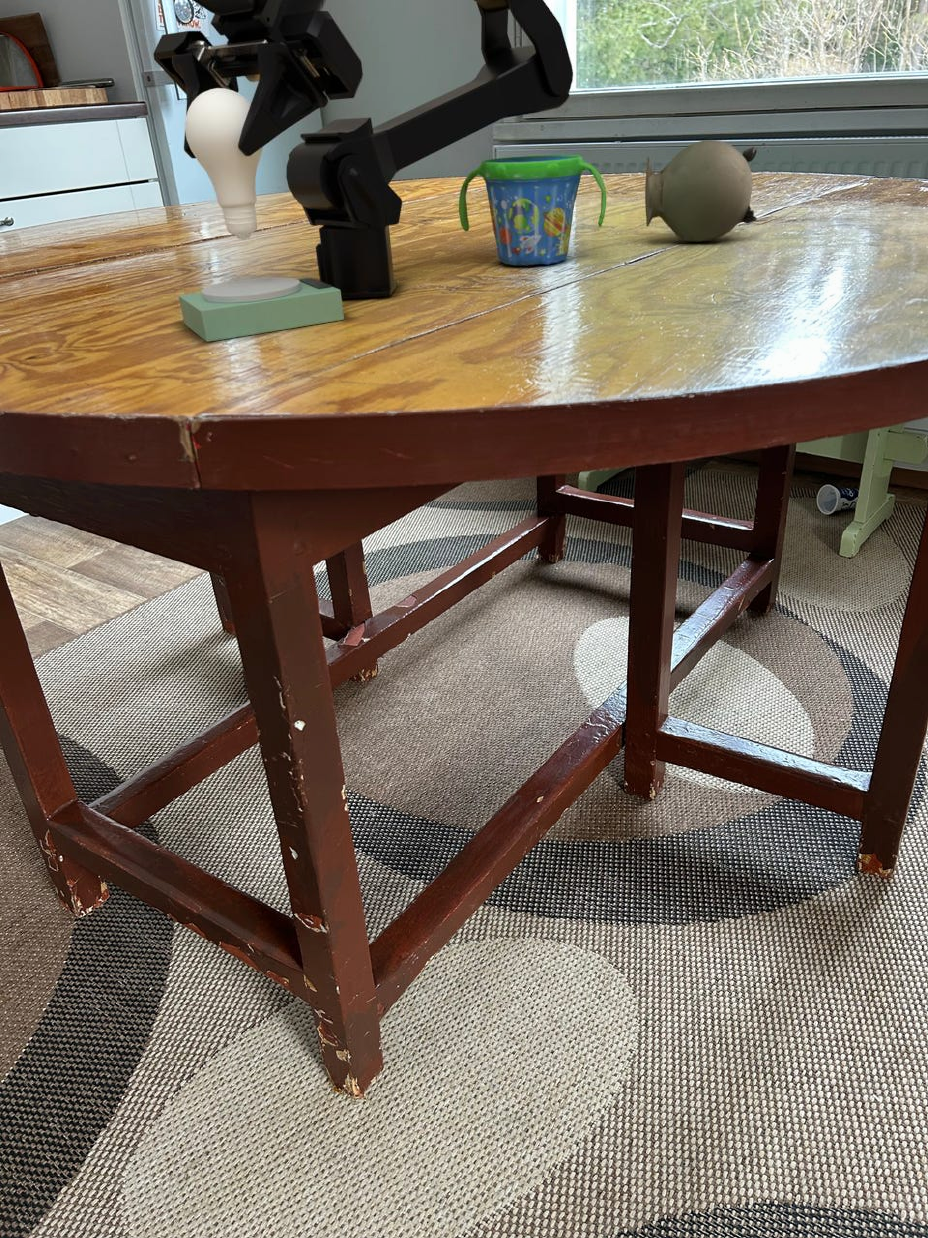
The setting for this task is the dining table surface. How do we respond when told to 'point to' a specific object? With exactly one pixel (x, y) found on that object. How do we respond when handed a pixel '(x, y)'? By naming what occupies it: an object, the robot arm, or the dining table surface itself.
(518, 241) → the snack cup
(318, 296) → the scale
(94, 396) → the dining table surface
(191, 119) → the lightbulb
